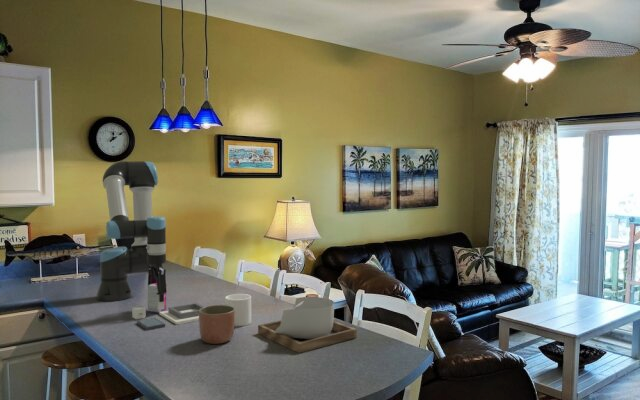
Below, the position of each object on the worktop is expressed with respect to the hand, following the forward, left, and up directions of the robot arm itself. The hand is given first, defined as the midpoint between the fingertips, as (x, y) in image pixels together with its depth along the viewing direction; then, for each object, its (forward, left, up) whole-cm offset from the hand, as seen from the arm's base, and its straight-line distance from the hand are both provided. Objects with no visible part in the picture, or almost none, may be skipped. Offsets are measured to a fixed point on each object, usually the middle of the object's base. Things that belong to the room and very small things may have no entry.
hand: (157, 307), depth 210 cm
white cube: (+4, -9, -2) cm, 10 cm away
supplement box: (0, 0, -2) cm, 2 cm away
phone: (+18, -9, -2) cm, 20 cm away
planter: (+49, +3, -2) cm, 49 cm away
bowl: (+64, +31, -2) cm, 71 cm away
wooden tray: (+64, +31, -2) cm, 71 cm away
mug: (+34, +19, -2) cm, 39 cm away
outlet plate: (+14, +8, -2) cm, 16 cm away
